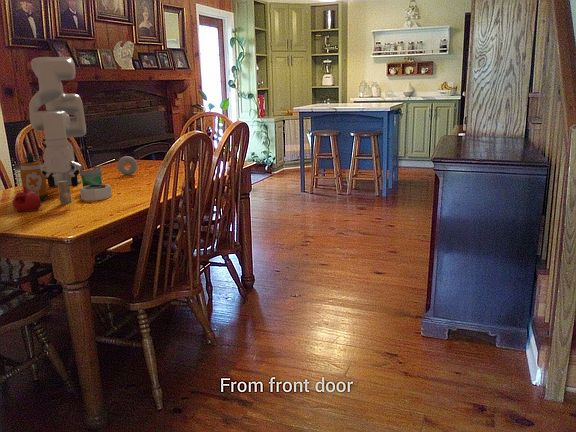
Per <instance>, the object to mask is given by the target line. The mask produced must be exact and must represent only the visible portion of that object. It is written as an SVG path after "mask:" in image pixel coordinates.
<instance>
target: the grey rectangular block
mask: <svg viewBox="0 0 576 432" xmlns="http://www.w3.org/2000/svg"><path fill="white" fill-rule="evenodd" d="M57 184H58V186H57V188H58V189H57V191H58V197H59V201H60V205H69V204H71V203H72V197H71V196H72V194H71V189H70V185H69V181H59V182H57Z"/></svg>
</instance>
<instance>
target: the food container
mask: <svg viewBox="0 0 576 432" xmlns="http://www.w3.org/2000/svg"><path fill="white" fill-rule="evenodd" d="M103 171H104V170H103V169H102V168H101V166H94V168H92V169H91V168H90V169H86V170H80V173H79V176H80V178H81V183H82V187H84V186H89V185H95V184H103V182H102V174H103Z"/></svg>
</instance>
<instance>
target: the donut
mask: <svg viewBox="0 0 576 432" xmlns="http://www.w3.org/2000/svg"><path fill="white" fill-rule="evenodd" d="M127 163H128V164H129V165H130V167H129V168H126V167H125V164H127ZM116 167H117V170H118V171H119V173H120V174H122V175H125V176H132V175H133V174H135V172H136V171H137V170H138V163H137V161H136V159H135V158H134V157H132V156H127V155H125V156H122V157H120V158H119V159H118V161H117V166H116Z"/></svg>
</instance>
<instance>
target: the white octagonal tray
mask: <svg viewBox="0 0 576 432" xmlns="http://www.w3.org/2000/svg"><path fill="white" fill-rule="evenodd" d="M104 184H105V183H104ZM95 185H98V184H95ZM89 186H90V185H89ZM86 187H88V186H84V187H83V186H82V187H79V192H80V198H81V200H83V201H84V202H86V201H87V202H89V201H91V202H93V201H94V202H95V201H101V200H107V199H109V198H111V197H112V196H113V194H112V185H110V184H107V183H106V184H105V188H101V189H95V190H86Z"/></svg>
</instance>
